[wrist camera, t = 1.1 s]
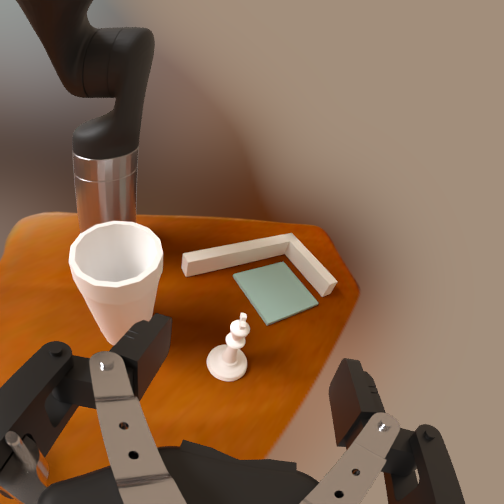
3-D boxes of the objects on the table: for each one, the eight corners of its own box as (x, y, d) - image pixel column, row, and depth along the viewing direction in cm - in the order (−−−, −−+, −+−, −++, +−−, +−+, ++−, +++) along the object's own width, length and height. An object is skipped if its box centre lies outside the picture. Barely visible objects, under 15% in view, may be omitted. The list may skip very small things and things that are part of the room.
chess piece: (246, 349, 35) (268, 300, 29) (246, 383, 31) (271, 340, 25) (208, 344, 34) (220, 292, 28) (205, 378, 30) (216, 333, 24)
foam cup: (103, 369, 27) (76, 298, 19) (84, 310, 32) (64, 231, 24) (174, 344, 33) (178, 270, 25) (146, 292, 38) (145, 214, 30)
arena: (181, 268, 43) (182, 253, 41) (286, 245, 54) (291, 232, 52) (222, 341, 35) (226, 329, 33) (333, 297, 46) (341, 285, 44)
